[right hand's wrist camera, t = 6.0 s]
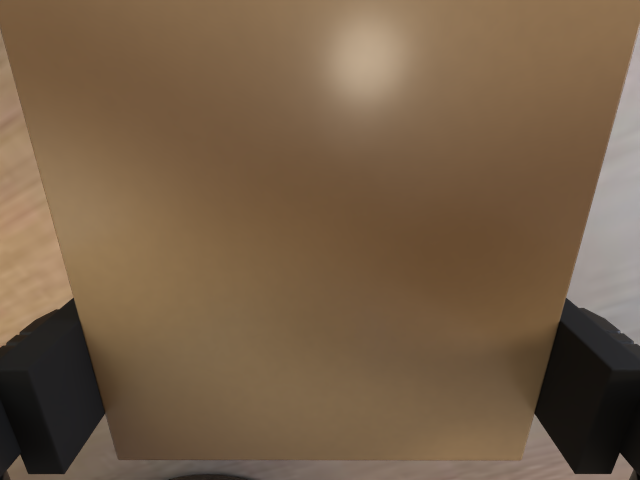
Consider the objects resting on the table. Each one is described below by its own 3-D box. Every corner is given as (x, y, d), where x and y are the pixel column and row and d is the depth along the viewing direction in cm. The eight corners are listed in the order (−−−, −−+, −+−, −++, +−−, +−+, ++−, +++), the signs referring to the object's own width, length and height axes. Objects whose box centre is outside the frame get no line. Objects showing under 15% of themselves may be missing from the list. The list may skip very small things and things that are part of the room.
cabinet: (180, -135, 14) (-231, -811, 4) (460, -135, 14) (873, -816, 4) (222, 271, 20) (117, 460, 10) (417, 271, 20) (522, 461, 10)
